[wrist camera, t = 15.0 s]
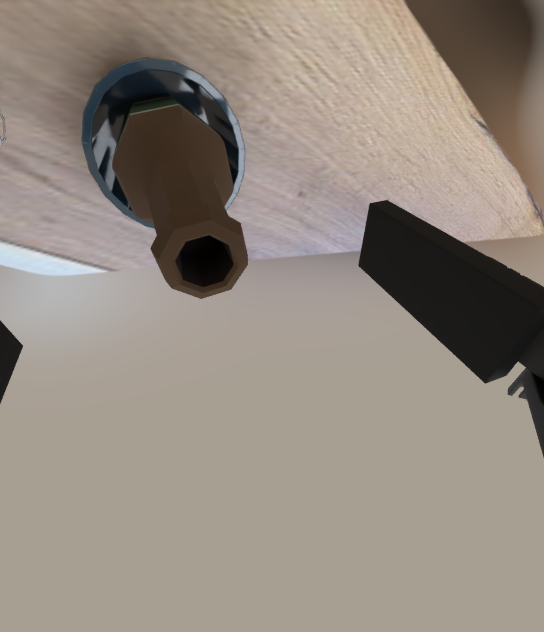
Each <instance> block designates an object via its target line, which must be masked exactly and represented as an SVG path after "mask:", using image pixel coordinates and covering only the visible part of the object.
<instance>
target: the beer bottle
mask: <svg viewBox="0 0 544 632" xmlns="http://www.w3.org/2000/svg"><path fill="white" fill-rule="evenodd" d="M112 169H113V171H114V173H115V175H116V177H117V179H118V181H119V184H120V186H121V188H122V190H123V192H124V194H125V196H126V198H127V200H128V203H129V205H130V207H131V209H132V211H133V213H134V215H135V216H137V217H139V218H140V219H142V220H144V221H147V222H149V223H151V224H153V225H154V226H155V230H156V234H157V236H156V238H155V240H154V242H153V244H152V246H151V248H150V249H151V251H152V253H153V255H154V257H155V259H156V262H157V264H158V266H159V268H160V270H161V272H162V274H163V276H164V278H165V280H166V282H167V283H168V284H169V286H170V287H171V288H172V289H175V290H178V291H181V292H184V293H187V294H189V295H192V296H195V297H198V298H200V299H202V298H205V297H209V296H212V295H215V294H218V293H221V292H225V291H228V290H231V289H232V287H233V286H234V284H235V283H236V281H237V280H238V279H239V277H240V276H241V274H242V273H243V271H244V270H245V268H246V267H247V265H248V255H247V250H246V245H245V241H244V236H243V232H242V227H241V223H239V222H238V221H236V220H234V219H233V218H231V217H229V216H228V214H227V212H226V209H225V205H226V204H227V202H228V200H229V198H230V197H231V195H232V193H233V190H234V185H233V181H232V176H231V171H230V167H229V162H228V157H227V153H226V148H225V144H224V141H223V140H222V138H221V136H220V135H219V134H218V133H216V132H215V131H214V130H213V129H212V128H211V127H210V126H209V125H208V124H207V123H206V122H204V121H203V120H202V119H201V118H200V117H199V116H197V115H196V114H195V113H193V112H192V111H191V110H189V109H188V108H187V107H185V106H184V105H183V104H181V103H180V102H179V101H178V100H176V99H175V98H174V97H172V96H171V95H170V94H163V95H158V96H153V97H148V98H143V99H138V100H134V101H132V104H131V106H130V109H129V111H128V114H127V116H126V119H125V122H124V124H123V127H122V129H121V132H120V134H119V137H118V141H117V145H116V148H115V152H114V155H113V159H112Z"/></svg>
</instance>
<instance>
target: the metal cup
mask: <svg viewBox="0 0 544 632" xmlns="http://www.w3.org/2000/svg"><path fill="white" fill-rule="evenodd" d="M163 94H170V95H171V96H172V97H174V98H175V99H176V100H178V101H179V102H180V103H181V104H183V105H184V106H185V107H187V108H188V109H189V110H191V111H192V112H193V113H195V114H196V115H197V116H199V117H200V118H201V119H202V120H203V121H204V122H206V123H207V124H208V125H209V126H210V127H211V128H212V129H213V130H214V131H215V132H216V133H218V134H219V135H220V136H221V138H222V140H223V141H224V144H225V148H226V153H227V157H228V162H229V167H230V171H231V176H232V181H233V185H234V190H233V193H232V195H231V197H230V198H229V200H228V202H227V204H226V205H225V209H226V210H227V209H228V207H229V206H230V204H231V203H232V202H233V200H234V199H235V197H236V196H237V194H238V191H239V188H240V185H241V182H242V179H243V176H244V172H245V146H244V142H243V138H242V133H241V129H240V125H239V123H238V120H237V118H236V116H235V115H234V113H233V111H232V109H231V108H230V106H229V104H228V102H227V100H226V99H225V97H224V96H223V95H222V94H221V93H220V92H219V91H218V90H217V89H216V88H215V87H214V86H213V85H212V84H211V83H210V82H209V81H208V80H207V79H206V78H205V77H204V76H202V75H201V74H199V73H197V72H195V71H194V70H192V69H190V68H188V67H186V66H184V65H182V64H180V63H178V62H175V61H171V60H163V59H154V58H141V59H138V60H134V61H131V62H127V63H124V64H121V65H118V66H116V67H115V68H114V69H112V70H111V71H110V72H109V73H108V74H107V75H106V76H105V77H103V78H102V79H101V80H100V81H99V82H98V83H97V84H96V85H95V86H94V88H93V91H92V93H91V95H90V97H89V100H88V102H87V104H86V106H85V109H84V111H83V122H82V146H83V149H84V153H85V157H86V160H87V164H88V167H89V171H90V173H91V174H92V176H93V178H94V179H95V181H96V182H97V184H98V186H99V187H100V189H101V191H102V192H103V194H104V195H105V197H106V198H108V199H109V200H110V201H111V202H112V203H113V204H114V205H115V206H116V207H117V208H118V209H119V210H120V211H121V212H122V213H123V214H125V215H126V216H128V217H130V218H132V219H133V220H135V221H137V222H139V223H141V224H143V225H144V226H147V227H151V228H155V226H154V225H153V224H151V223H149V222H147V221H144V220H142V219H140V218H139V217H137V216H135V215H134V213H133V211H132V209H131V207H130V205H129V203H128V200H127V198H126V196H125V194H124V192H123V190H122V188H121V186H120V184H119V181H118V179H117V177H116V175H115V173H114V171H113V169H112V159H113V155H114V152H115V148H116V145H117V141H118V137H119V134H120V132H121V129H122V127H123V124H124V122H125V119H126V116H127V114H128V111H129V109H130V106H131V104H132V101H134V100H138V99H143V98H148V97H153V96H158V95H163Z"/></svg>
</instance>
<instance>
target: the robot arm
mask: <svg viewBox="0 0 544 632" xmlns="http://www.w3.org/2000/svg"><path fill="white" fill-rule="evenodd" d="M359 267H361V269H363V271H365V272H366V273H367V274H368V275H369V276H370V277H371V278H372V279H373V280H374V281H375V282H376V283H378V284H379V285H380V286H381V287H382V288H383V289H384V290H385V291H386V292H387V293H388V294H389V295H391V296H392V297H393V298H394V299H395V300H396V301H397V302H398V303H399V304H400V305H401V306H402V307H404V308H405V309H406V310H407V311H408V312H409V313H410V314H411V315H412V316H413V317H414V318H415V319H416V320H417V321H418V322H420V323H421V324H422V325H423V326H424V327H425V328H426V329H427V330H428V331H429V332H431V334H432V335H434V336H435V337H436V338H437V339H438V340H439V341H440V342H441V343H442V344H443V345H445V347H447V348H448V349H449V350H450V351H451V352H452V353H453V354H454V355H455V356H456V357H457V358H458V359H460V360H461V361H462V362H463V363H464V364H465V365H466V366H467V367H468V368H469V369H470V370H471V371H472V372H473V373H475V374H476V375H477V376H478V377H479V378H480V379H481V380H482V381H483V382H484V383H488V382H490V381H493V380H496V379H498V378H501V377H504V376H506V375H507V374H508V373H509V372H510V370H511V369H512V368H513V367H514V365H515V364H516V363H517V362H520V363H521V364H522V365H524V366H525V367H526V368H525V370H524V371H523V372H522V373H521V374H520V375H519V377H518V378H517V379H516V380H515V381H514V382H513V383H512V385H511V386H510V387H509V388H508V395H511V396H512V395H513V394H514V393H515V392H516V391H517V390H518V389H519V388H520V387H524V390H523V391H522V392H521V393H520V395H519V398H523V399H527V401H528V404H529V408H530V411H531V414H532V418H533V422H534V425H535V429H536V432H537V435H538V439H539V443H540V446H541V449H542V453H543V457H544V287H543V286H541V285H540V284H538V283H536V282H534V281H532V280H531V279H529V278H527V277H525V276H522V275H520V273H518V272H516V271H514V270H513V269H511V268H510V269H509V268H507V266H505V265H504V264H502V263H500V262H498V261H496V260H495V259H493V258H490V257H488V256H485V255H484V254H482V253H480V252H478V251H477V250H475V249H473V248H471V247H470V246H468V245H466V244H464V243H463V242H461V241H459V240H457V239H456V238H454V237H452V236H450V235H448V234H447V233H445V232H443V231H441V230H439V229H438V228H436V227H434V226H432V225H431V224H429V223H427V222H425V221H423V220H422V219H420V218H418V217H416V216H414V215H413V214H411V213H409V212H407V211H405V210H404V209H402V208H400V207H398V206H397V205H395V204H393V203H391V202H389V201H388V200H385V201H380V202H375V203H370V205H369V210H368V216H367V221H366V227H365V232H364V238H363V243H362V249H361V254H360V260H359ZM22 348H23V345H22V344H21V343H20V342H19V341H18V340H17V339H16V338H15V336H14V335H13V334H12V333H11V332H10V331H9V330H8V329H7V328H6V326H5V325H4V324H3V323H2V322H1V321H0V403H1V400H2V398H3V395H4V393H5V390H6V388H7V385H8V383H9V380H10V378H11V375H12V373H13V370H14V367H15V365H16V362H17V360H18V358H19V355H20V353H21V350H22Z"/></svg>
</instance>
